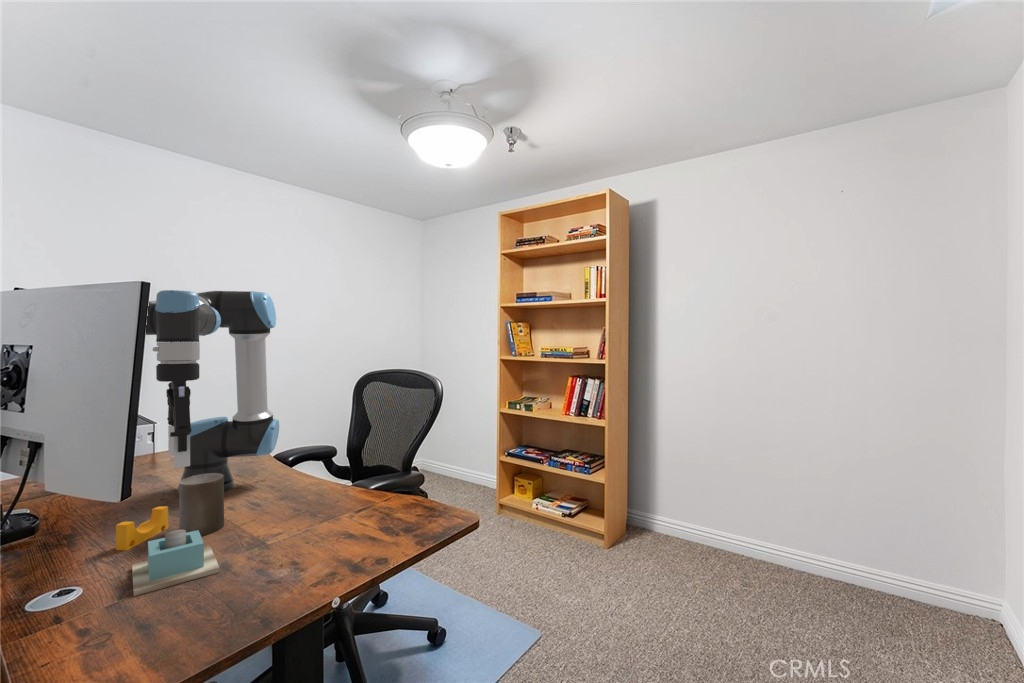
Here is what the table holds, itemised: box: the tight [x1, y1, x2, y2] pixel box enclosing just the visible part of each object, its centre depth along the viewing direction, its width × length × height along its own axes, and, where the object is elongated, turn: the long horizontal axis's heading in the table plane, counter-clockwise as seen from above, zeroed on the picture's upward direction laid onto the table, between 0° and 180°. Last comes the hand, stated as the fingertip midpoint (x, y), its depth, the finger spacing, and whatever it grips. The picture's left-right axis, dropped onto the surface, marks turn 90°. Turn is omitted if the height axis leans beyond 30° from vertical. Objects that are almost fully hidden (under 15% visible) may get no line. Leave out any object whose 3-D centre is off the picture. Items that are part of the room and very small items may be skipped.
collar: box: [147, 530, 205, 581], centre depth 97 cm, size 9×9×5 cm
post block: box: [131, 529, 221, 597], centre depth 96 cm, size 14×14×8 cm
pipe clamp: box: [115, 505, 169, 551], centre depth 111 cm, size 12×4×6 cm, turn 177°
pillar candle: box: [178, 473, 225, 537], centre depth 117 cm, size 10×10×15 cm
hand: (178, 460), depth 98 cm, fingers open, 13 cm apart
